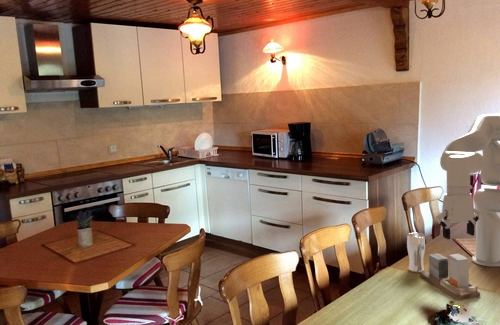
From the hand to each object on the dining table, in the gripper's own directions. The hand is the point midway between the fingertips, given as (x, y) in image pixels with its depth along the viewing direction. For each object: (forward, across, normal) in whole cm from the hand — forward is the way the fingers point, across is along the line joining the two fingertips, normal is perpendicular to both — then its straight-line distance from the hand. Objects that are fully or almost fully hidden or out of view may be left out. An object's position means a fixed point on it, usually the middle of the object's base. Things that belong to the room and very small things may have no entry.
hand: (458, 236), depth 159 cm
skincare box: (+20, 0, 0) cm, 20 cm away
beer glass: (+21, +2, -24) cm, 32 cm away
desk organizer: (+21, 0, -6) cm, 22 cm away
